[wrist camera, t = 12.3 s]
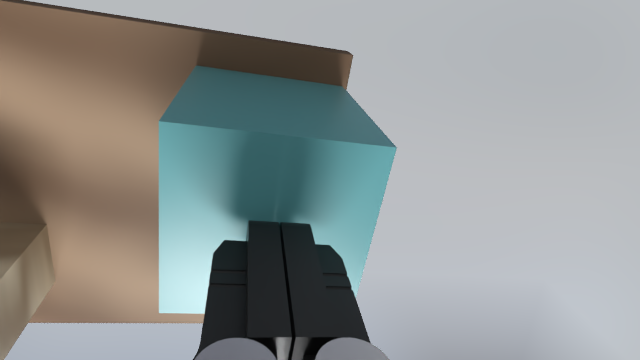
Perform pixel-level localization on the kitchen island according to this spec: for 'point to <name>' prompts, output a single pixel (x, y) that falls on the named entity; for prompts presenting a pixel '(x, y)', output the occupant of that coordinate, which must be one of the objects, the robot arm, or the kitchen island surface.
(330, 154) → the teal foam cube
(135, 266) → the board
